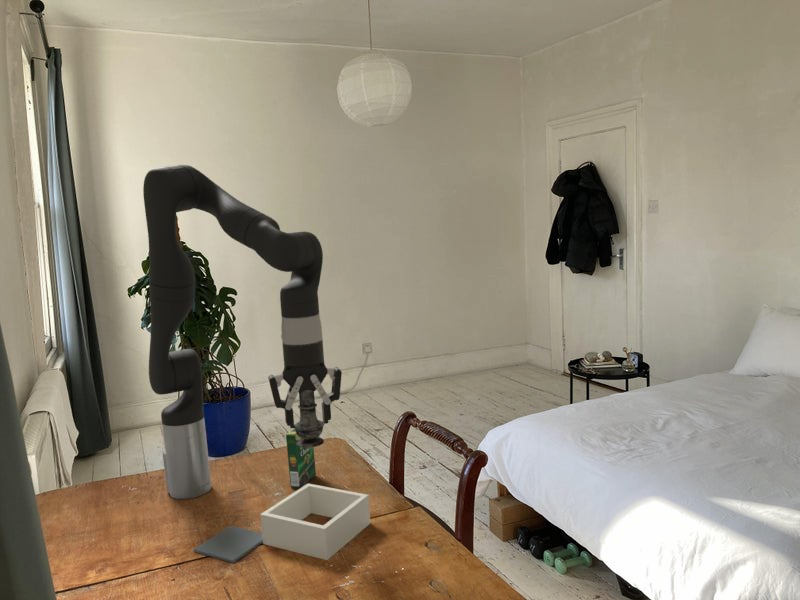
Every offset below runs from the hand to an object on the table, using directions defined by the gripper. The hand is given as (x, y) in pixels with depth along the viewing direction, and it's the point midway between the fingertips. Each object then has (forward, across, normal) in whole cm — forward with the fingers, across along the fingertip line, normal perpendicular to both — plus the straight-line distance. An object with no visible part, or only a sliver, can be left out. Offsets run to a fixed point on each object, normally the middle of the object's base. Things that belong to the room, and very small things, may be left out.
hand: (309, 424), depth 124 cm
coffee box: (+23, +1, +26) cm, 34 cm away
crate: (+22, 0, 0) cm, 22 cm away
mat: (+22, -16, +2) cm, 28 cm away
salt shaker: (+4, 0, 0) cm, 4 cm away
